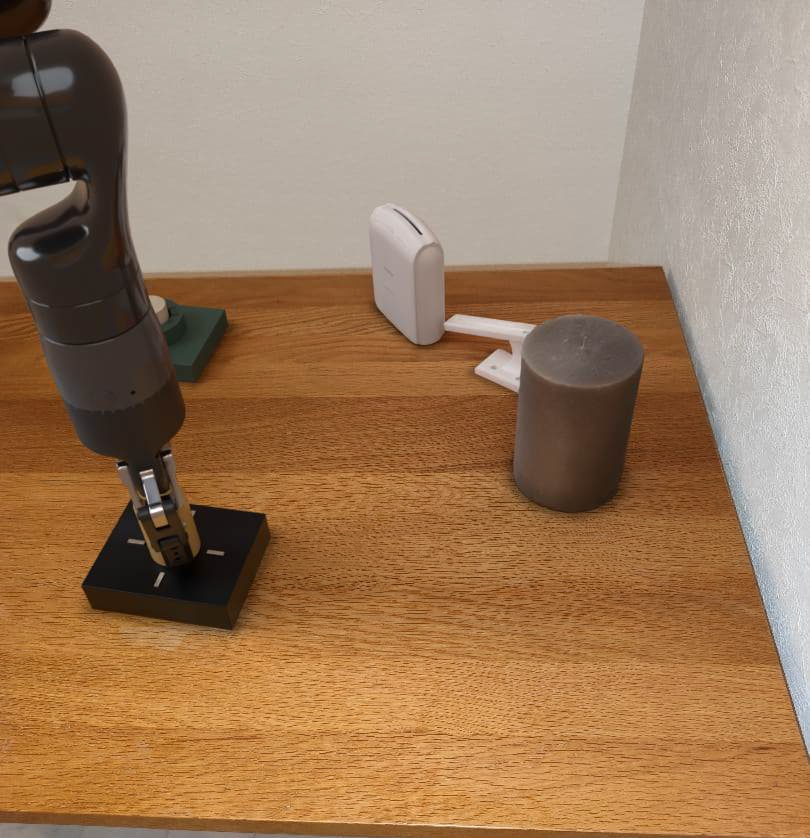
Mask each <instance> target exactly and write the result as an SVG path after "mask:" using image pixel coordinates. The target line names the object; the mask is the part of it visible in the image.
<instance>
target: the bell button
mask: <svg viewBox="0 0 810 838" xmlns="http://www.w3.org/2000/svg"><path fill="white" fill-rule="evenodd" d="M149 299H150V301H151V304H152V306H153V309H154V311H155V313H156V315H157V317H158V319H159V321H160V324H161V325H162V324H164V323H166V322H167V321H168V320H169V314H168V310H167V306H166V303H165V300H164V299H165V298H163V297H161V296H158V295H149Z"/></svg>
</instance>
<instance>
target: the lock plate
mask: <svg viewBox="0 0 810 838" xmlns="http://www.w3.org/2000/svg"><path fill="white" fill-rule="evenodd" d="M189 506H190V509H191V513H192V516H193V519H194V522H195V526H196V529H197V532H198V535H199V539H200V543H201V546H200V550H199V552H198V553H197V555H196V556H195V557H194V561H193V562H192V563H190V564H187V565H184V566H180V567H177V568H173V569H169V568H167V567H166V566H163V565H160V564H158V563H157V562H155V561H154V560H153V558H152V556H151V554H150V551H149V548H148V546H147V543H146V540H145V538H144V535H143V532H142V530H141V527H140V524H139V522H138V519H137V516H136V514H135V511H134V508H133V502H132V499H131V498H130V499H129V501H128V503H127V504H126V506H125V507H124V510H123V512H122V513H121V514H120V515H119V518H118V520H117V522H115V523H116V524H115V525H114V527H113V529H112V531H111V532H110V534H109V536H108V537H107V539H106V541H105V543H104V544H103V546H102V548H101V549H100V551H99V553H98V555H97V557H96V558H95V560H94V562H93V563H92V566H91V567H90V569H89V571H88V572H87V574H86V576H85V578H84V580H83V581H82V583H81V585H80V587H81V589H82V591H83V593H84V595H85V597H86V599H87V601H88V603H89V605H90V607H91V609H93V610H99V611H106V612H113V613H118V614H124V615H125V614H126V615H132V616H137V617H145V618H151V619H157V620H164V621H170V622H175V623H176V622H177V623H184V624H188V625H189V624H190V625H195V626H202V627H210V628H216V629H222V630H228V631H233V630H234V628H235V625H236V623H237V620H238V618H239V615H240V613H241V610H242V608H243V606H244V602H245V600H246V599H247V596H248V593H249V591H250V588H251V586H252V584H253V581H254V579H255V576H256V574H257V572H258V569H259V567H260V564H261V562H262V559H263V557H264V555H265V552H266V550H267V547H268V545H269V542H270V540H271V533H270V528H269V524H268V523H269V522H268V519H267V515H266V513H262V512H256V511H248V510H240V509H232V508H225V507H217V506H210V505H202V504H194V503H189Z"/></svg>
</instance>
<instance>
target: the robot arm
mask: <svg viewBox="0 0 810 838" xmlns="http://www.w3.org/2000/svg"><path fill="white" fill-rule="evenodd" d="M52 7H53V0H0V198H1V197H6V196H10V195H15V194H20V193H21V192H22V193H24V192H28V191H34V190H38V189H43V188H47V187H52V186H58V185H62V184H67V183H70V182H71V181H73V182H75V184H74V187H73V189H72V191H71V192H70V193H69V194H68V195H67V196H65V197H64V198H62V199H61V200H60V201H58V202H57V203H54V204H53V205H51V206H49V207H46V208H45V209H43V210H41V211H39V212H36V213H35V214H33V215H32V216H30V217H29V218H27V219H25V220H23V221H22V222H21V223H20V224H19V225H18V226H17V227H16V228H15V229H14V230H13V231H12V233H11V235H10V236H9V238H8V242H7V256H8V260H9V264H10V268H11V271H12V273H13V275H14V278H15V281H16V283H17V284H18V287H19V290H20V291H21V294H22V296H23V299H24V301H25V303H26V306H27V308H28V310H29V312H30V316H31V317H32V321H33V323H34V324H35V327H36V330H37V333H38V336H39V340H40V344H41V348H42V352H43V356H44V359H45V362H46V364H47V367H48V370H49V372H50V374H51V377H52V379H53V381H54V384H55V386H56V388H57V391H58V393H59V395H60V398H61V400H62V402H63V405H64V407H65V409H66V412H67V414H68V417H69V419H70V422H71V424H72V426H73V428H74V431H75V433H76V436H77V437H78V440H79V442H81V444H82V445H83V447H85V448H86V449H88V450H89V451H91V452H92V453H95V454H97V455H100V456H103V457H106V458H113V459H116V460H115V467H116V470H117V473H118V476H119V478H120V481H121V483H122V485H123V486H125V487H126V488H127V490H128V493H129V496H130V499H132V502H133V505H134V507H135V510H136V515H137V518H138V521H139V520H140V521H141V524H142V526H143V528H144V530H145V532H146V534H147V536H148V538H149V540H150V544H151V547H152V549H154V551H155V553H157V552H161V554H162V557H163V560H164V562H165V565H166V567H167V568H169V569H173V568H177V567H180V566H184V565H187V564H190V563H192V562H193V561H194V557H193V553H192V549H191V547H190V544H189V541H188V539H189V536H188V533H187V532H186V529H185V528H187V526H186V522H185V521H184V522H183V519H182V516H181V513H180V508H182V506H183V505H184V502H183V497H182V493H181V490H180V487H181V486H180V484H179V480H178V478H177V474H176V473H177V471H178V467H177V464H176V459H175V456H174V453H173V450H172V444H171V440H173V438H175V437H176V436H177V434H178V433H179V432H180V430H181V429H182V427H183V425H184V423H185V420H186V414H187V408H186V403H185V399H184V396H183V393H182V390H181V386H180V383H179V382H180V381H178V379H177V376H176V373H175V369H174V366H173V362H172V359H171V355H170V352H169V348H168V345H167V342H166V338H165V335H164V332H163V329H162V326H161V324H160V321H159V319H158V317H157V315H156V313H155V311H154V309H153V306H152V304H151V301H150V299H149V296H150V295H149V292H148V288H147V285H146V282H145V278H144V275H143V271H142V269H141V264H140V261H139V258H138V255H137V251H136V246H135V243H134V240H133V234H132V229H131V222H130V221H131V220H130V212H129V211H130V210H129V197H128V174H129V173H128V170H129V169H128V168H129V133H130V129H129V111H128V110H129V109H128V103H127V97H126V92H125V88H124V84H123V82H122V79H121V76H120V74H119V71H118V70H117V67H116V66H115V65H114V62H113V61H112V60H111V58H110V56H109V55H108V54H107V53H106V51H105V50H104V49H103V48H102V47H101V46H100V44H98V43H97V42H96V41H95V40H93V39H92V38H91V37H90V36H89V35H87V34H85V33H83V32H82V31H79V30H77V29H72V28H53V29H47V30H42V31H40V30H41V28H42V27H43V26H44V25H45V23H46V22H47V20H48V18H49V16H50V14H51V11H52ZM169 482H170V484H171V487H172V491H171V493H169V494H167V495H163V496H161V495H162V494H165V493H166V492H167V491H168V490H170V485H169ZM179 486H180V487H179ZM139 493H140V495H141V496H143V497H145V498H146V499H147V500H144V499H142V498H141V497H140V495H139Z"/></svg>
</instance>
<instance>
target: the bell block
mask: <svg viewBox="0 0 810 838" xmlns="http://www.w3.org/2000/svg"><path fill="white" fill-rule="evenodd" d="M163 299H164V300H165V303H166V306H167V310H168V314H169V320H168V321H167V322H166V323H164V324H162V325H161V326H162V329H163V332H164V335H165V338H166V342H167V345H168V348H169V352H170V355H171V359H172V362H173V366H174V369H175V373H176V376H177V379H178V382H188V383H195V384H196V383H197V382H198V380H199V379H200V377H201V375H202V373H203V371H204V370H205V368H206V366H207V364H208V363H209V361H210V359H211V357H212V356H213V354H214V352H215V351H216V349H217V347H218V345H219V343H220V342H221V340H222V339H223V336H224V335H225V333H226V332H227V329H228V328H229V322H228V317H227V313H226V312H227V311H226V309H225V308H218V307H217V308H216V307H215V308H214V307H205V306H204V307H203V306H195V305H194V306H193V305H183V304H179V303H177V302H176V301H174V300H172V299H167V298H163Z"/></svg>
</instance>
